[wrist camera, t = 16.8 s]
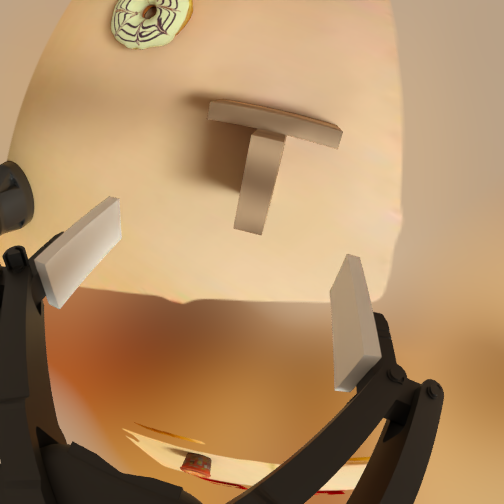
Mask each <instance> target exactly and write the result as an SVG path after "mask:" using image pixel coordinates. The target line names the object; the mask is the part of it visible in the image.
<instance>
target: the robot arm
mask: <svg viewBox="0 0 504 504" xmlns="http://www.w3.org/2000/svg"><path fill="white" fill-rule="evenodd" d="M33 214H34V201H33V195H32V191H31V188H30V185H29V182H28V180H27V178H26V176H25V174H24V173H23V171H22V170H21V169H20V167H19V166H18V165H16V164H15V163H13V162H10V161H7V162H5V163H3V164H1V165H0V235H2V234H4V233H8V232H11V231H14V230H17V229H21V228H23V227H24V226H25V225H27V224H28V223H29V222H30V221H31V220H32V217H33ZM121 238H122V237H121V221H120V199H119V198H114V197H110V196H109V197H108V198H106V199H105V200H104V201H102V202H101V203H100V204H98V205H97V206H96V207H95V208H93V209H92V210H91V211H90V212H88V213H87V214H86V215H85V216H83V217H82V218H81V219H80V220H78V221H77V222H76V223H75V224H74V225H72V226H71V227H70V228H69V229H68V230H66V231H65V232H61V233H59V234H57V235H55V236H54V237H53V238H52V239H50V240H49V242H47V243H46V244H45V245H44V247H43V246H42V247H41V248H40V249H39V250H38V251H37V252H36V253H35V254H34V255H33V256H32V257H31V258H30V259H28V257H27V254H26V251H25V248H24V247H23V246H14V247H11V248H9V249H8V250H6V252H5V253H4V254H3V256H2V257H3V260H4V262H5V265H6V267H2V266H1V264H0V460H1V464H0V504H202V503H201V502H200V501H199V500H198V499H196V498H195V497H194V496H192V495H191V494H189V493H187V492H185V491H184V490H183V488H182V487H180V486H176V485H173V484H170V483H167V482H163V481H160V480H158V479H154V478H150V477H143V476H136V475H130V474H124V473H121V472H119V471H118V470H117V469H115V468H114V467H113V466H111V465H110V464H109V463H107V462H106V461H105V460H103V459H102V458H101V457H100V456H98V455H97V454H95V453H94V452H91V451H89V450H87V449H86V448H84V447H82V446H80V445H78V444H77V443H74V442H72V443H71V445H69V444H67V443H66V439H65V437H64V435H63V433H62V431H61V429H60V428H59V425H58V422H57V417H56V413H55V408H54V403H53V397H52V392H51V386H50V379H49V372H48V364H47V354H46V342H45V327H44V304H43V301H42V299H43V298H44V297H45V296H46V297H47V300H48V302H49V304H50V305H52V306H54V307H56V308H58V309H60V308H61V307H62V306H63V304H64V303H65V302H66V301H67V300H68V298H69V297H70V296H71V295H72V293H73V292H74V291H75V290H76V289H77V287H78V286H79V285H80V284H81V283H82V281H83V280H84V279H85V278H86V277H87V276H88V275H89V273H90V272H91V271H92V270H93V269H94V268H95V267H96V265H97V264H98V263H99V262H100V261H101V260H102V259H103V258H104V257H105V255H106V254H107V253H108V252H109V251H110V250H111V249H112V248H113V247H114V246H115V245H116V244H117V243H118V241H119V240H120V239H121ZM330 301H331V315H332V331H333V350H334V382H335V383H334V386H335V387H334V388H335V390H336V391H345V392H351V391H352V390H353V389H354V388H355V386H356V387H357V394H356V395H355V396H354V397H353V398H352V399H351V400H350V401H349V402H348V403H347V404H346V406H345V407H344V408H343V409H342V410H341V411H340V412H339V413H338V414H337V415H336V416H335V417H334V418H333V419H332V420H331V421H330V422H329V423H328V424H327V425H326V426H325V427H324V428H323V429H322V430H320V432H318V433H317V434H316V435H315V436H314V437H313V438H312V439H311V440H310V441H309V442H307V443H306V444H305V445H304V446H303V447H302V448H301V449H299V450H298V451H297V452H296V453H295V454H294V455H292V456H291V457H290V458H289V459H288V460H286V461H285V462H284V463H283V464H281V465H280V466H279V467H278V468H276V469H275V470H274V471H273V472H271V473H270V474H269V475H267V476H266V477H265V478H263V479H262V480H261V481H259V482H258V483H256V484H255V485H254V486H252V487H251V488H249V489H248V490H246V491H245V492H243V493H242V494H240V495H239V496H237V497H235V498H234V499H232V500H231V501H229V502H227V503H226V504H304V503H305V502H306V501H307V500H308V499H310V498H311V497H312V496H313V495H314V494H315V493H316V492H317V491H318V490H319V489H320V488H321V487H323V486H324V485H325V484H326V483H327V482H328V481H329V480H330V479H331V478H332V477H333V476H334V475H335V474H336V473H337V471H338V470H339V469H340V468H341V467H342V466H343V465H344V464H345V463H346V462H347V461H348V460H349V459H350V457H351V456H352V455H353V454H354V453H355V452H356V451H357V449H358V448H359V447H360V446H361V445H362V444H363V442H364V441H365V440H366V439H367V438H368V436H369V435H370V434H371V433H372V431H373V430H374V429H375V428H376V426H377V425H378V424H379V422H380V421H381V420H382V418H386V419H387V420H386V423H385V425H384V428H383V430H382V433H381V435H380V437H379V440H378V442H377V444H376V447H375V449H374V451H373V453H372V456H371V458H370V460H369V462H368V464H367V466H366V468H365V470H364V472H363V474H362V476H361V478H360V480H359V482H358V483H357V485H356V487H355V489H354V491H353V493H352V495H351V496H350V498H349V500H348V501H347V503H346V504H413V503H414V501H415V499H416V496H417V493H418V491H419V488H420V486H421V483H422V480H423V477H424V474H425V471H426V468H427V465H428V462H429V458H430V455H431V452H432V448H433V445H434V441H435V437H436V433H437V429H438V424H439V419H440V415H441V410H442V405H443V399H444V392H443V389H442V387H441V386H440V384H439V383H437V382H436V381H435V380H432V379H428V380H426V381H424V382H423V383H422V384H419V383H417V382H414V381H412V380H409V379H408V378H407V375H406V373H405V371H404V370H403V368H402V367H401V366H399V365H398V364H397V363H396V358H395V354H394V349H393V344H392V340H391V335H390V333H389V326H388V323H387V321H386V319H385V318H384V316H383V315H382V314H380V313H375V312H373V310H372V305H371V301H370V296H369V292H368V288H367V284H366V280H365V276H364V272H363V268H362V264H361V260H360V257H357V256H353V255H350V254H347V255H346V257H345V260H344V262H343V264H342V266H341V268H340V271H339V273H338V275H337V277H336V279H335V281H334V284H333V286H332V288H331V290H330Z"/></svg>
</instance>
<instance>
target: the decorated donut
mask: <svg viewBox="0 0 504 504" xmlns="http://www.w3.org/2000/svg"><path fill="white" fill-rule="evenodd" d="M151 7H156V8H157V12H156V14H155V16H153V17H151V18H150V19H145V13H146V12H147V11H148V10H149V9H151ZM192 13H193V3H192V0H118V2H117V4H116V5H115V8H114V12H113V16H112V21H111V31H112V33H113V35H114V37H115V38H116V39H117V40H118V41H119V42H120V43H121V44H124V45H125V46H126V47H127V48H130V49H142V50H143V49H146V48H150V47H159V46H163V45H166V44H168V43H169V42H171V41H172V40H173V38H174V37H175V36H176V35H177V34H178V33H179V32H180V31H181V30H182V29H183V28H184V27H185V25H186V24H187V22H188V21H189V19H190V18H191V15H192Z"/></svg>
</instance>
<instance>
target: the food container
mask: <svg viewBox="0 0 504 504" xmlns="http://www.w3.org/2000/svg"><path fill="white" fill-rule="evenodd" d="M180 469H181V470H182V471H184V472H186V473H189V474H192V475H194V476H198V477H204V478H207V477H210V476H211V475H210V469H211V459H210V458H208V457H206V456H203V455H199V454H195V453H188V454H187V456H186V458H185V460H184V463H183V465H182V467H180Z"/></svg>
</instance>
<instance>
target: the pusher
mask: <svg viewBox="0 0 504 504" xmlns="http://www.w3.org/2000/svg"><path fill="white" fill-rule="evenodd" d="M207 119H209V120H215V121H221V122H226V123H232V124H237V125H242V126H247V127H252V128H257V130H256V131H255V132H254V133H253V134H252V135H251V139H250V144H249V149H248V154H247V159H246V164H245V169H244V174H243V180H242V185H241V190H240V195H239V201H238V206H237V212H236V217H235V222H234V229H238V230H242V231H246V232H250V233H254V234H258V235H262V231H263V228H264V224H265V221H266V217H267V213H268V210H269V206H270V203H271V199H272V195H273V190H274V186H275V182H276V178H277V174H278V170H279V166H280V162H281V158H282V153H283V149H284V145H285V141H286V137H287V136H291V137H295V138H299V139H303V140H307V141H310V142H314V143H317V144H321V145H324V146H328V147H331V148H334V149H338V147H339V143H340V140H341V137H342V133H343V131H342V130H341V129H340V128H339V127H338V126H337V125H334V124H330V123H327V122H323V121H320V120H316V119H313V118H309V117H305V116H302V115H298V114H294V113H290V112H286V111H281V110H277V109H272V108H268V107H263V106H258V105H253V104H248V103H242V102H237V101H231V100H224V99H221V100H216V101H211V102H210V105H209V111H208V117H207Z"/></svg>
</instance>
